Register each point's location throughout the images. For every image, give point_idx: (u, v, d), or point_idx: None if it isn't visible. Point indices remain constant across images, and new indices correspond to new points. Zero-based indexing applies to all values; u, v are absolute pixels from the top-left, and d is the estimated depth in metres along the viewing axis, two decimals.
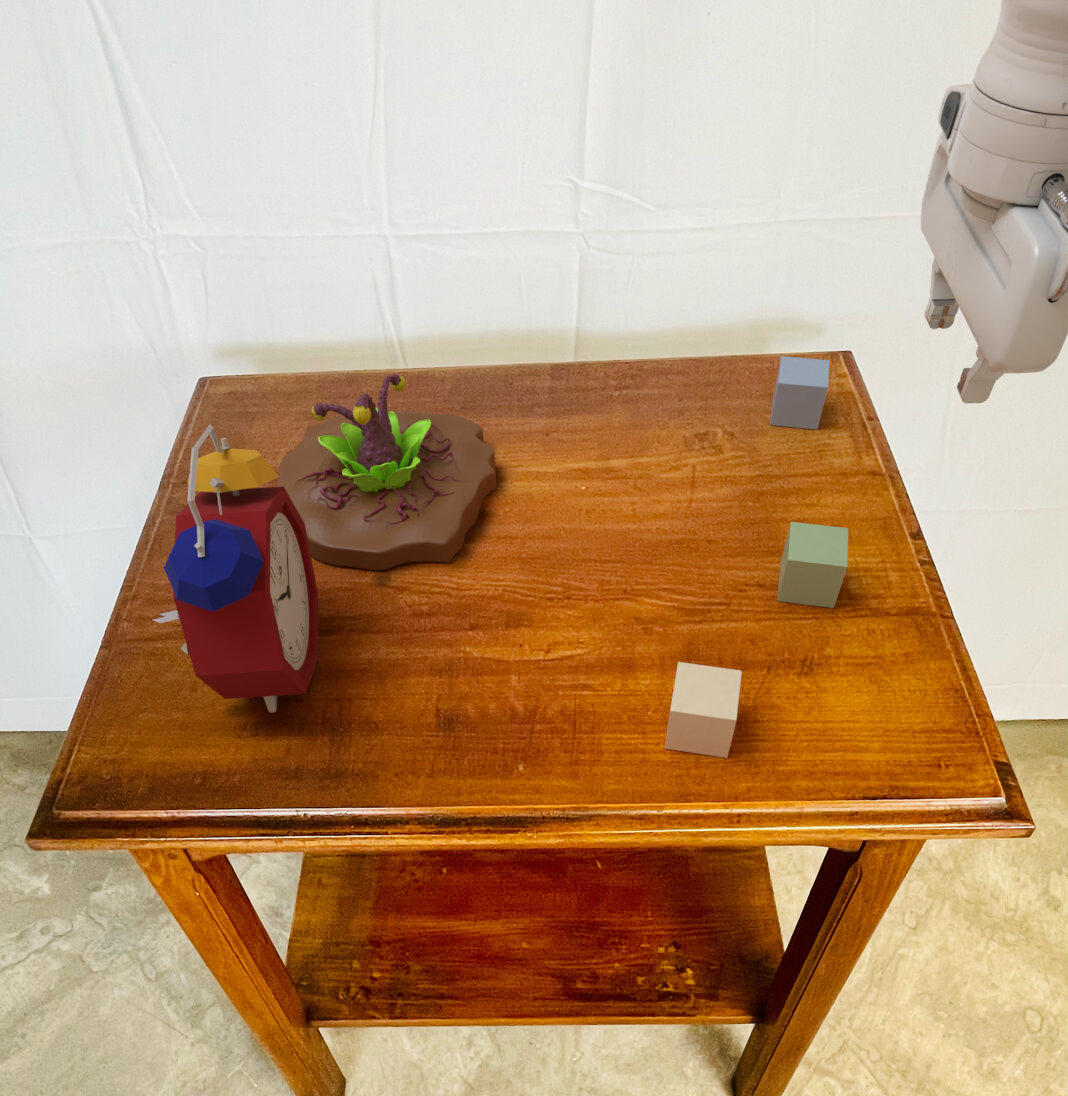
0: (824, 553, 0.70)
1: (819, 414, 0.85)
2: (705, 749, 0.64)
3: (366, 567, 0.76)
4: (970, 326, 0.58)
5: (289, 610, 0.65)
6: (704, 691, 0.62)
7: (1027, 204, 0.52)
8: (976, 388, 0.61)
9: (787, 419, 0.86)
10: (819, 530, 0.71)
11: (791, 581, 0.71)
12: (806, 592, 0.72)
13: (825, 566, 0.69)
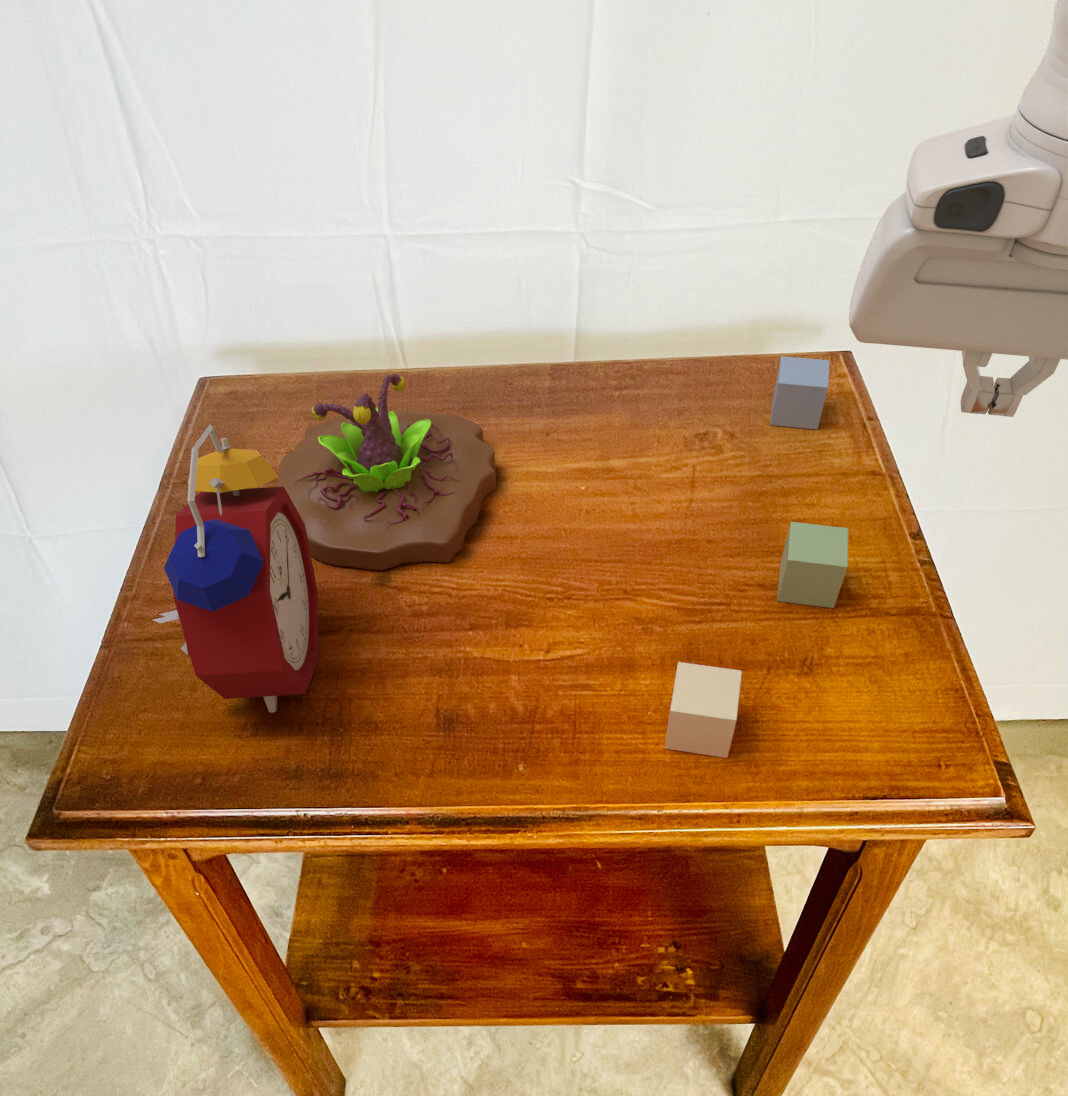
0: (824, 553, 0.70)
1: (819, 414, 0.85)
2: (705, 749, 0.64)
3: (365, 567, 0.76)
4: None
5: (289, 610, 0.65)
6: (704, 691, 0.62)
7: None
8: None
9: (787, 419, 0.86)
10: (819, 530, 0.71)
11: (791, 581, 0.71)
12: (806, 592, 0.72)
13: (825, 566, 0.69)
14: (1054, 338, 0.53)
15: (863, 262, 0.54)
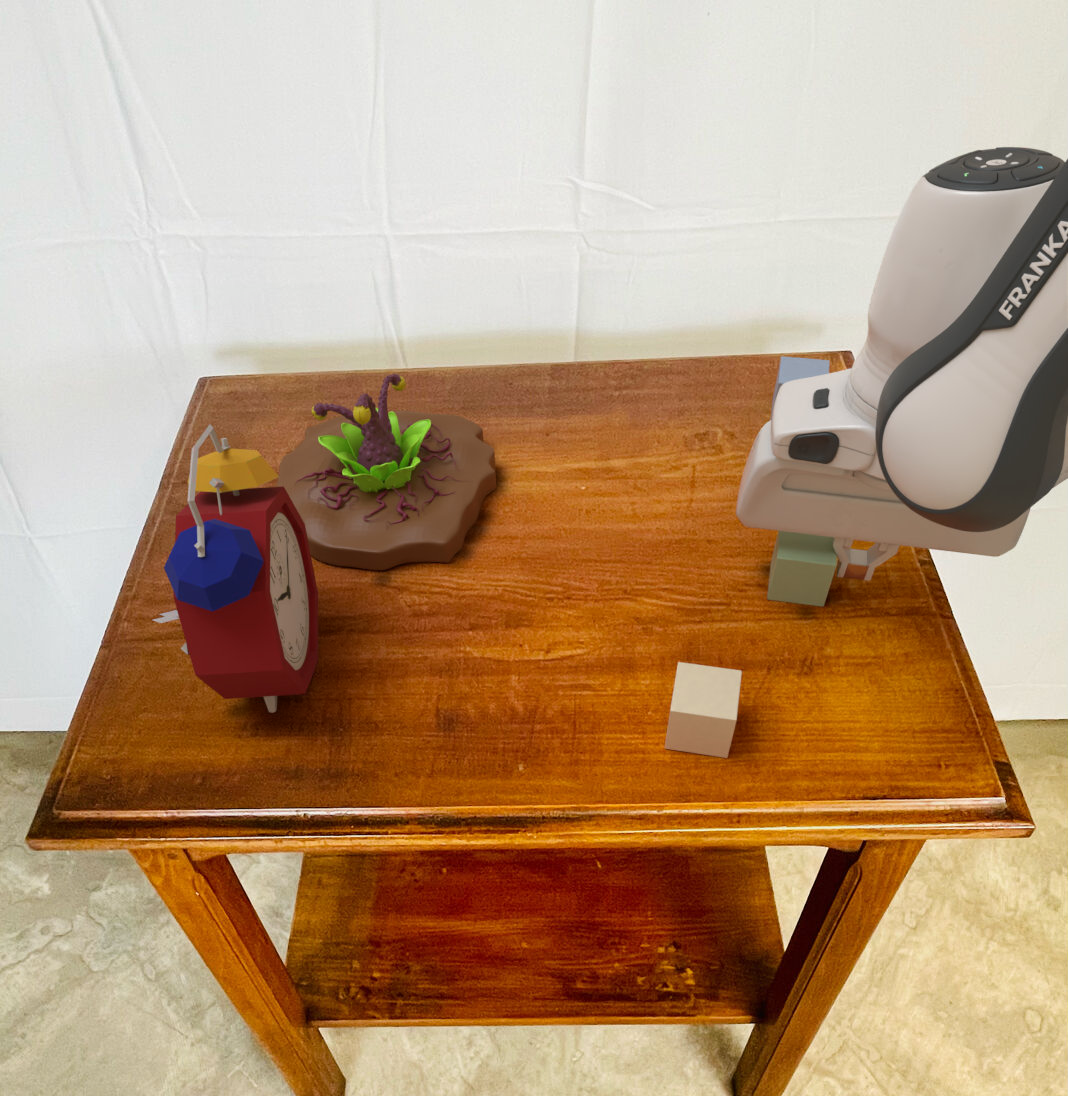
0: (813, 552, 0.70)
1: None
2: (705, 749, 0.64)
3: (366, 567, 0.76)
4: (933, 547, 0.66)
5: (289, 610, 0.65)
6: (704, 691, 0.62)
7: None
8: None
9: None
10: None
11: (780, 580, 0.71)
12: (796, 590, 0.72)
13: (814, 565, 0.69)
14: (895, 532, 0.66)
15: (746, 465, 0.67)
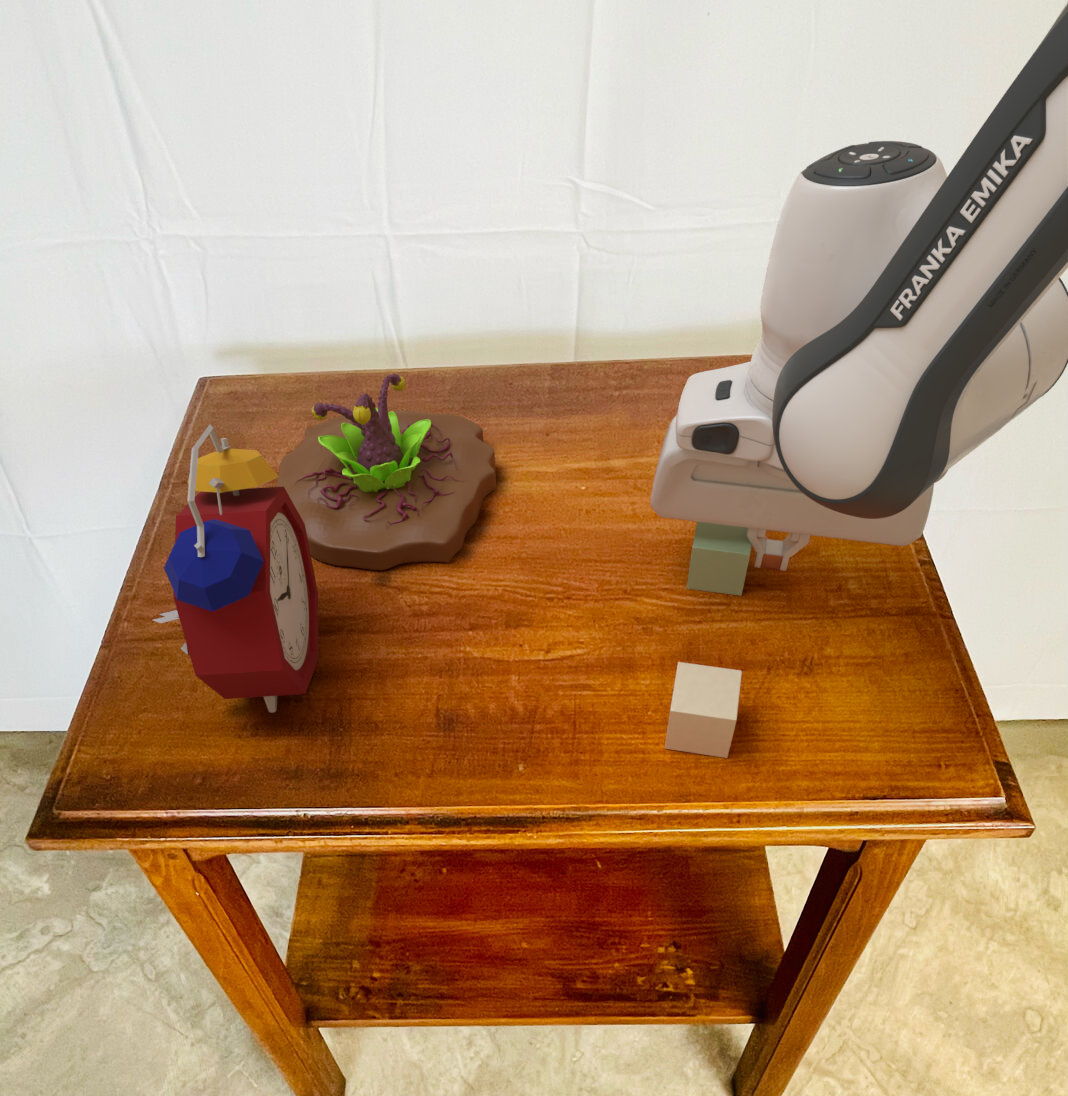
0: (728, 542, 0.71)
1: None
2: (705, 749, 0.64)
3: (365, 567, 0.76)
4: (842, 537, 0.67)
5: (289, 610, 0.65)
6: (704, 691, 0.62)
7: None
8: None
9: None
10: None
11: (697, 569, 0.72)
12: (713, 579, 0.73)
13: (729, 554, 0.70)
14: (804, 522, 0.67)
15: None
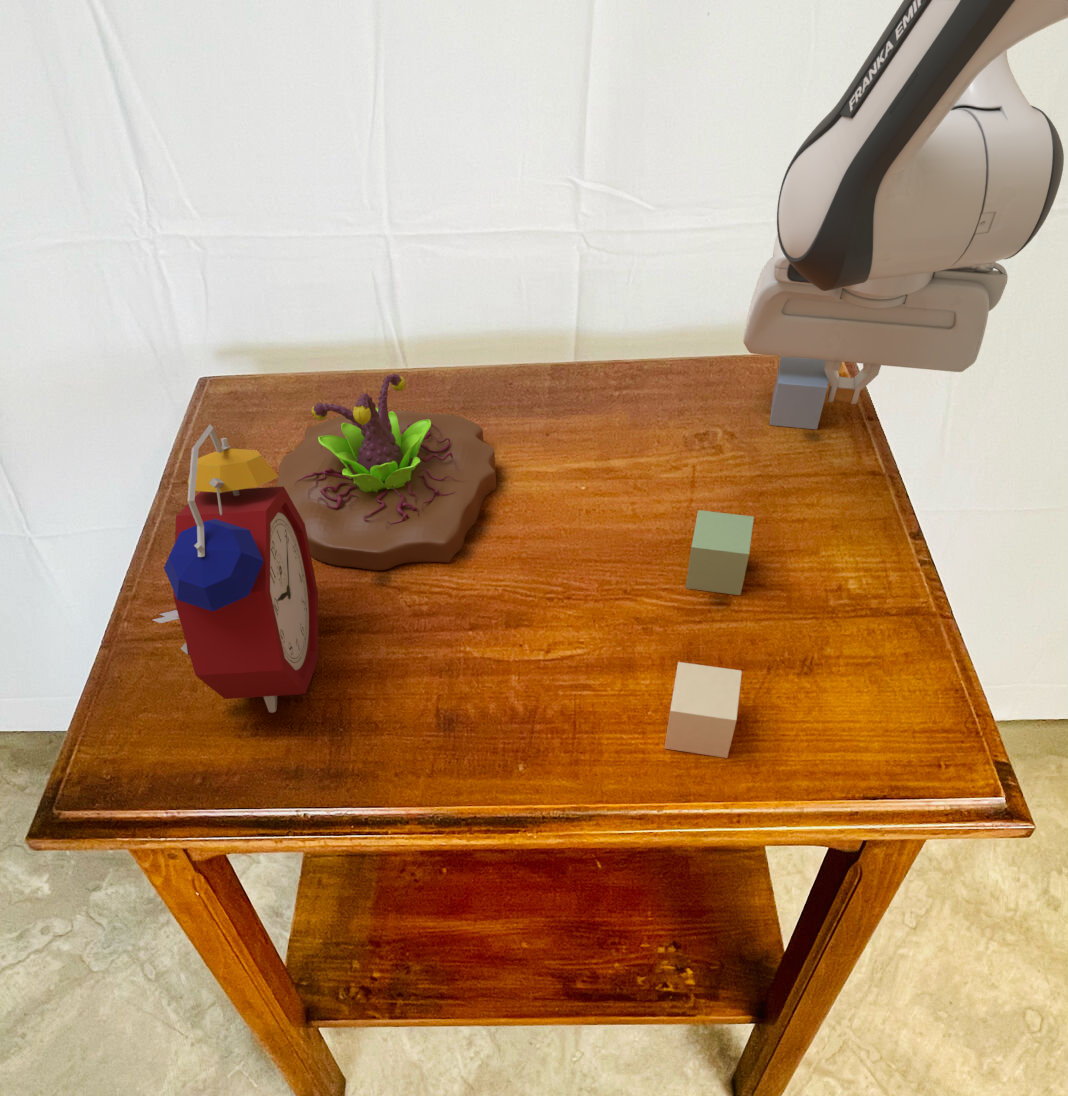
0: (727, 541, 0.71)
1: (819, 414, 0.85)
2: (705, 749, 0.64)
3: (366, 567, 0.76)
4: (908, 365, 0.80)
5: (289, 610, 0.65)
6: (704, 691, 0.62)
7: (931, 278, 0.74)
8: None
9: (787, 419, 0.86)
10: (725, 518, 0.72)
11: (696, 569, 0.72)
12: (713, 579, 0.73)
13: (728, 554, 0.70)
14: (876, 351, 0.79)
15: None
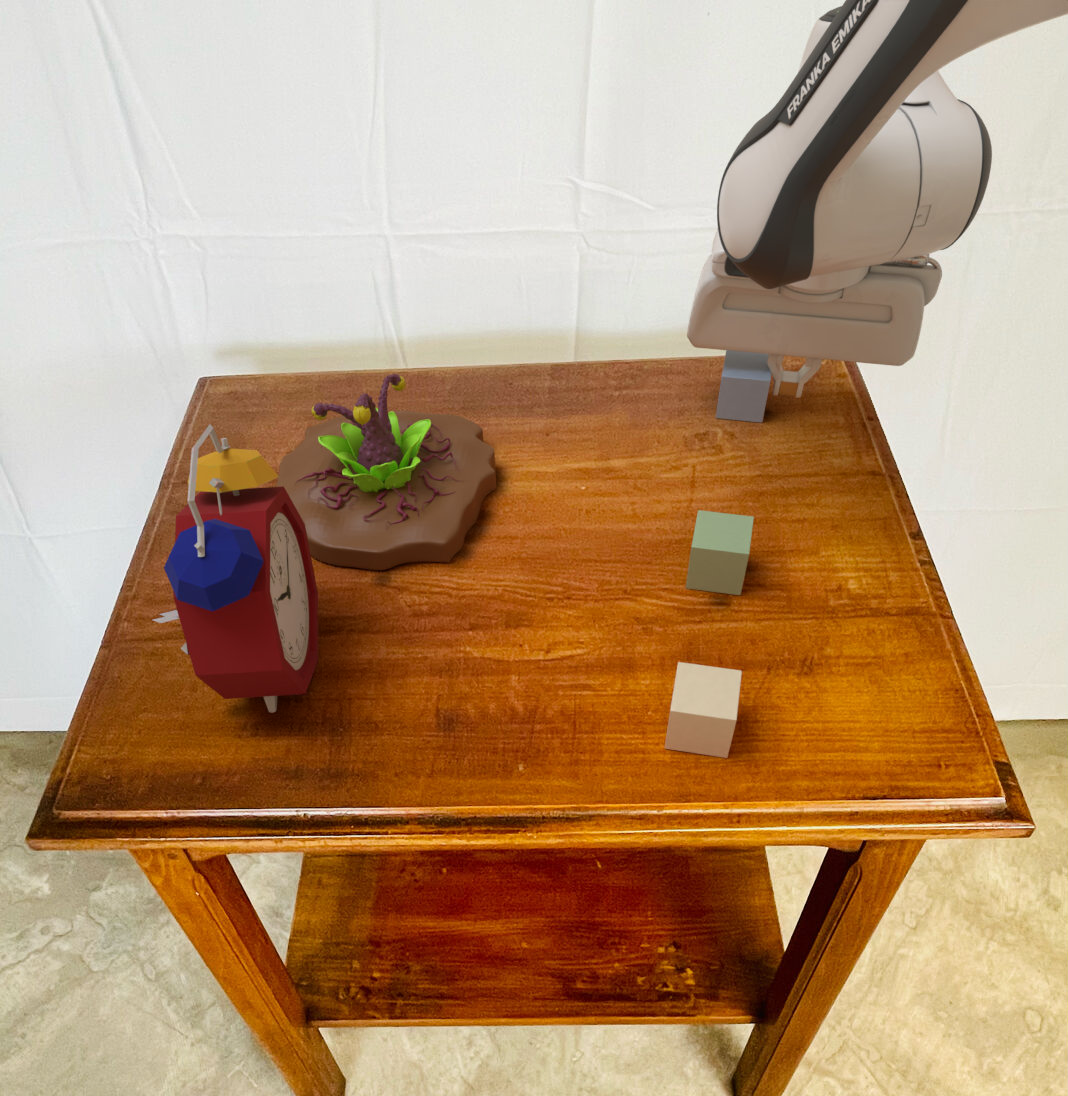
0: (727, 541, 0.71)
1: (763, 407, 0.85)
2: (705, 749, 0.64)
3: (365, 567, 0.76)
4: (848, 359, 0.81)
5: (289, 610, 0.65)
6: (704, 691, 0.62)
7: (866, 273, 0.75)
8: None
9: (732, 412, 0.87)
10: (725, 518, 0.72)
11: (696, 569, 0.72)
12: (713, 579, 0.73)
13: (728, 554, 0.70)
14: (816, 345, 0.80)
15: None
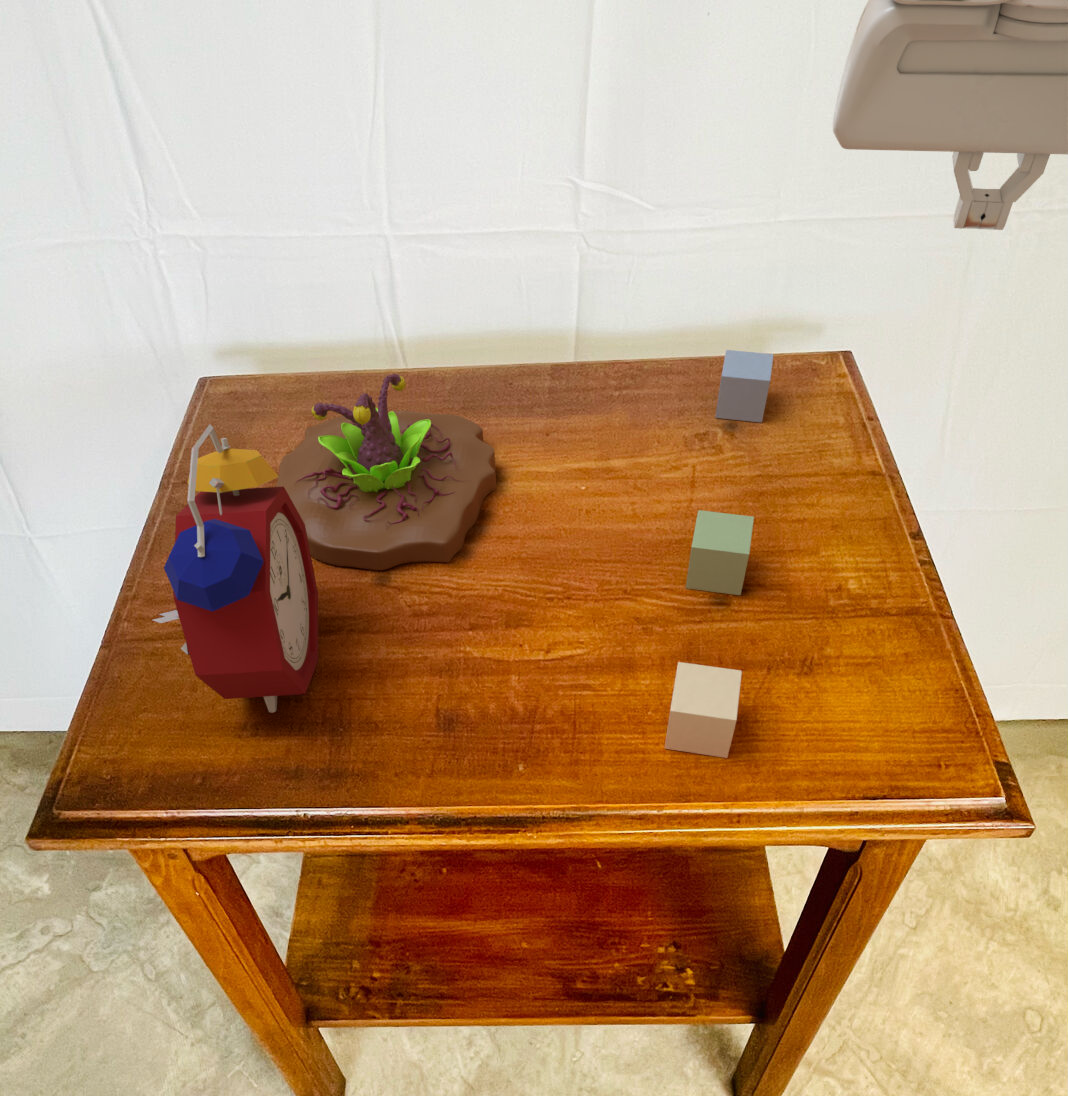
0: (727, 541, 0.71)
1: (763, 407, 0.85)
2: (705, 749, 0.64)
3: (365, 567, 0.76)
4: None
5: (289, 610, 0.65)
6: (704, 691, 0.62)
7: None
8: None
9: (732, 412, 0.87)
10: (725, 518, 0.72)
11: (696, 569, 0.72)
12: (713, 579, 0.73)
13: (728, 554, 0.70)
14: (1044, 128, 0.51)
15: (846, 63, 0.53)
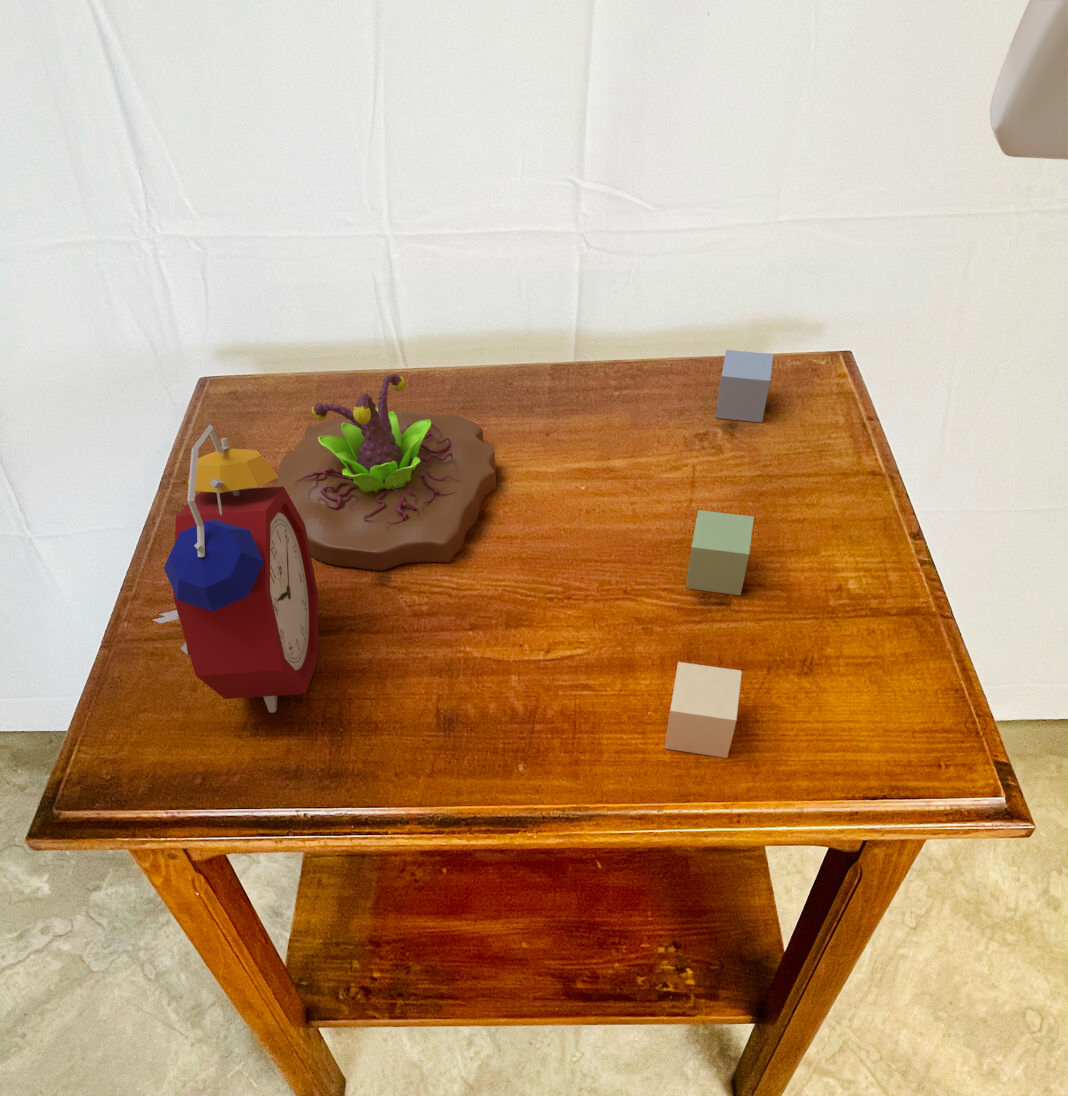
0: (727, 541, 0.71)
1: (763, 407, 0.85)
2: (705, 749, 0.64)
3: (365, 567, 0.76)
4: None
5: (289, 610, 0.65)
6: (704, 691, 0.62)
7: None
8: None
9: (732, 412, 0.87)
10: (725, 518, 0.72)
11: (696, 569, 0.72)
12: (713, 579, 0.73)
13: (728, 554, 0.70)
14: None
15: (1017, 34, 0.37)
